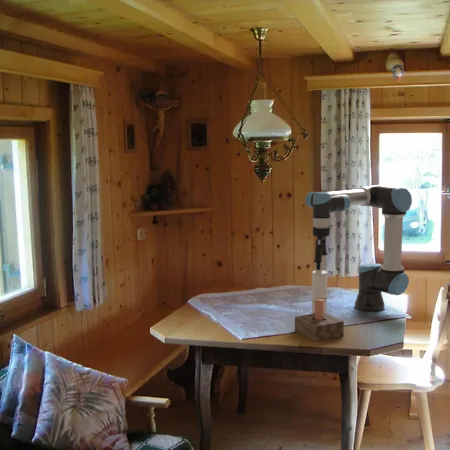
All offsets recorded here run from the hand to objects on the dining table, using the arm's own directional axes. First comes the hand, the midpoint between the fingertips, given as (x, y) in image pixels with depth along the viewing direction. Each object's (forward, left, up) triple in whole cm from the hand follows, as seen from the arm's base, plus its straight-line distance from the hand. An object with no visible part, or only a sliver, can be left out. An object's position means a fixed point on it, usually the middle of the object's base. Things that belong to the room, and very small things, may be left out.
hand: (320, 272), depth 288 cm
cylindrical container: (-10, -14, -29) cm, 34 cm away
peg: (0, 0, -29) cm, 29 cm away
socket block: (0, 0, -29) cm, 29 cm away
